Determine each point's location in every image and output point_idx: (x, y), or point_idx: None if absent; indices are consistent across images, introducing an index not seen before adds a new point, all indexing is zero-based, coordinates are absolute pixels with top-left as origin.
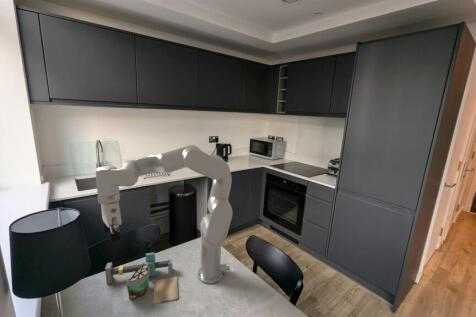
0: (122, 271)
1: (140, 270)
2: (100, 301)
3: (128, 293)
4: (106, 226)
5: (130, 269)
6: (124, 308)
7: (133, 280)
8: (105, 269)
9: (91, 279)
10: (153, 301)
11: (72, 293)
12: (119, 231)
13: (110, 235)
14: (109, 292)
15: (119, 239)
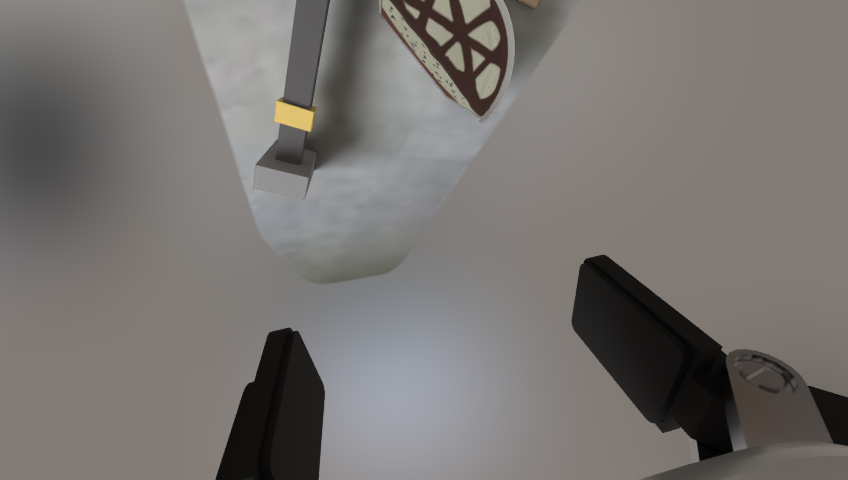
0: (315, 110)
1: (436, 23)
2: (401, 192)
3: (455, 103)
4: (310, 457)
5: (316, 65)
6: None
7: (507, 87)
8: (304, 196)
9: (258, 221)
10: (529, 3)
11: (315, 269)
12: (775, 359)
13: (637, 401)
14: (370, 163)
15: (605, 262)
